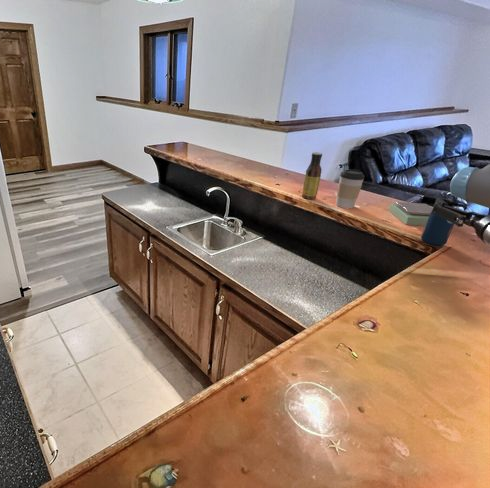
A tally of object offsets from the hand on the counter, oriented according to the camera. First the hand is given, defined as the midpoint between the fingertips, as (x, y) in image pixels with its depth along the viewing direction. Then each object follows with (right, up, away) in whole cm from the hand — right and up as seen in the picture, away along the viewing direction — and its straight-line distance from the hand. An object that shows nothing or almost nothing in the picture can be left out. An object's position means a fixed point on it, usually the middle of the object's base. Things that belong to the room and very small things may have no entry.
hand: (464, 204), depth 100 cm
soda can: (+3, -11, +16) cm, 20 cm away
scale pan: (+11, +2, +34) cm, 36 cm away
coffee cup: (-10, +5, +47) cm, 49 cm away
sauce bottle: (-22, +9, +56) cm, 61 cm away
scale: (+12, -1, +35) cm, 37 cm away
